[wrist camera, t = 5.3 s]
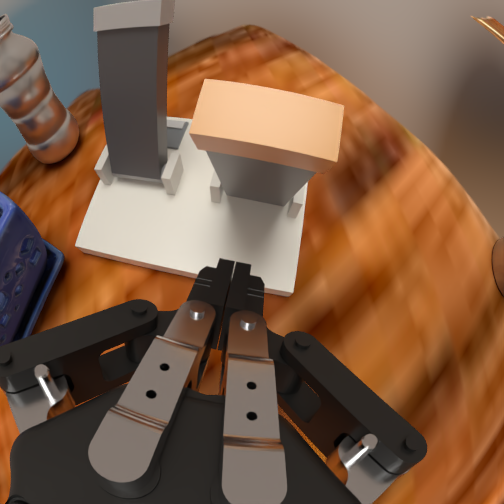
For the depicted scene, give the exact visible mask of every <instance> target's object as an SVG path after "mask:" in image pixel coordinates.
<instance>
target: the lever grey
mask: <svg viewBox="0 0 504 504" xmlns="http://www.w3.org/2000/svg"><path fill="white" fill-rule="evenodd" d="M174 6H175V0H143V1H133V2H125V3H117V4H111V5H105V6H101V7H96V8H94V31H97V35H98V36H97V37H98V64H99V77H100V91H101V101H102V111H103V119H104V127H105V134H106V141H107V148H108V154H109V160H110V166H111V173H112V175H113V176H115V177H123V178H130V179H137V180H144V181H151V182H157V183H163V182H162V179H161V177H162V174H163V172H164V169H165V166H166V164H167V161H168V154H167V62H168V39H169V23H172V22H173V17H174Z"/></svg>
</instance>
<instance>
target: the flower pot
mask: <svg viewBox="0 0 504 504" xmlns="http://www.w3.org/2000/svg"><path fill="white" fill-rule="evenodd" d="M63 262H64V254H63V253H62V252H61V251H60V250H58V249H57V248H55V247H54V246H53V245H51V244H50V243H48V242H47V241H45V240H44V239H42V238H41V236H40V234H39V232H38V230H37V229H36V227H35V226H34V224H33V223H32V222H31V220H30V219H29V218H28V217H27V215H26V214H25V213H24V212H23V211H22V210H21V208H20V207H19V206H17V205H16V204H15V203H14V202H13V201H12V200H11V199H10V198H9V197H7V196H6V195H5V194H3V193H2V192H0V346H3V345H6V344H8V343H11V342H14V341H17V340H20V339H23V338H26V337H29V336H30V335H31V333H32V331H33V328H34V326H35V324H36V321H37V319H38V317H39V314H40V312H41V310H42V308H43V305H44V303H45V301H46V299H47V296H48V294H49V292H50V290H51V288H52V286H53V283H54V281H55V279H56V277H57V275H58V273H59V271H60V269H61V267H62V264H63Z"/></svg>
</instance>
